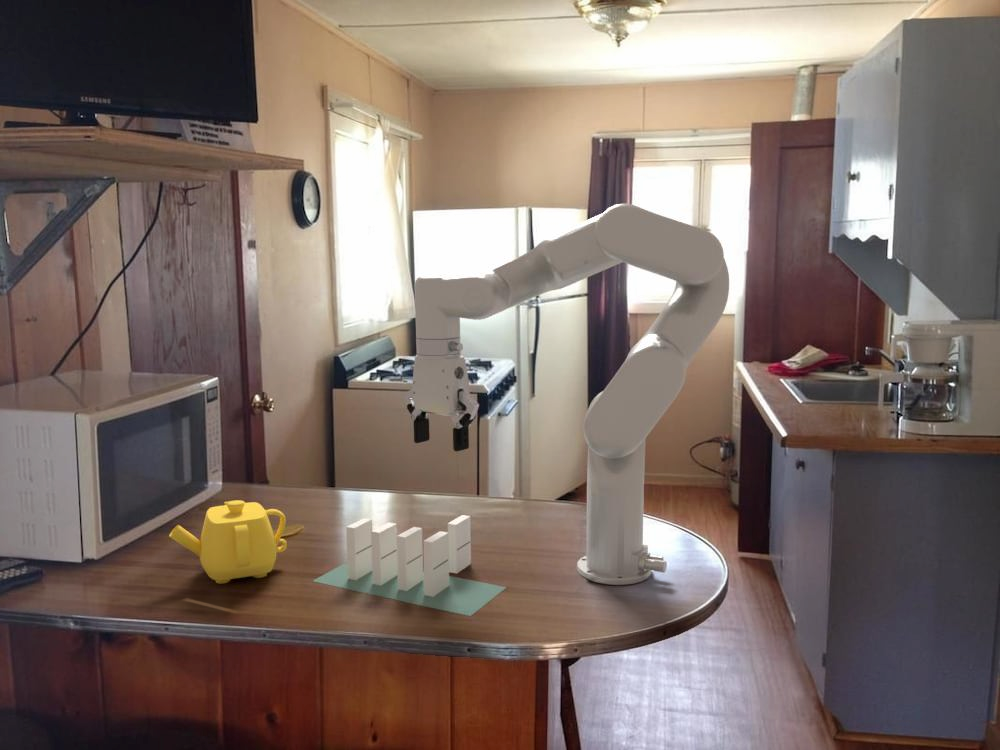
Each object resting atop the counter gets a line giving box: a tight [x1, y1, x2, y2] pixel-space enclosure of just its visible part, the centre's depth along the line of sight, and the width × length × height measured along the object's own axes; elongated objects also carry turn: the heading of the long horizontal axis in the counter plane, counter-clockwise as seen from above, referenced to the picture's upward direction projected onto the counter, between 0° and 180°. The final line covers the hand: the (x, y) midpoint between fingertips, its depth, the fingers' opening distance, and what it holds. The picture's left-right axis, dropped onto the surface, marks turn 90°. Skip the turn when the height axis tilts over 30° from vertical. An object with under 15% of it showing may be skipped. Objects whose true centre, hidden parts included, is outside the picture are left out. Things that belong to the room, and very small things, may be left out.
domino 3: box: [397, 526, 424, 591], centre depth 139 cm, size 2×5×9 cm, turn 153°
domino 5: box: [447, 514, 472, 574], centre depth 147 cm, size 2×5×9 cm, turn 153°
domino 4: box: [422, 530, 450, 597], centre depth 137 cm, size 2×5×9 cm, turn 153°
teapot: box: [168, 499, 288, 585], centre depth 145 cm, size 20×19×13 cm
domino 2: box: [371, 521, 398, 586], centre depth 142 cm, size 2×5×9 cm, turn 153°
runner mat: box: [312, 561, 507, 617], centre depth 140 cm, size 30×12×1 cm, turn 63°
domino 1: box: [346, 517, 373, 580], centre depth 144 cm, size 2×5×9 cm, turn 153°
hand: (441, 445), depth 149 cm, fingers open, 9 cm apart
